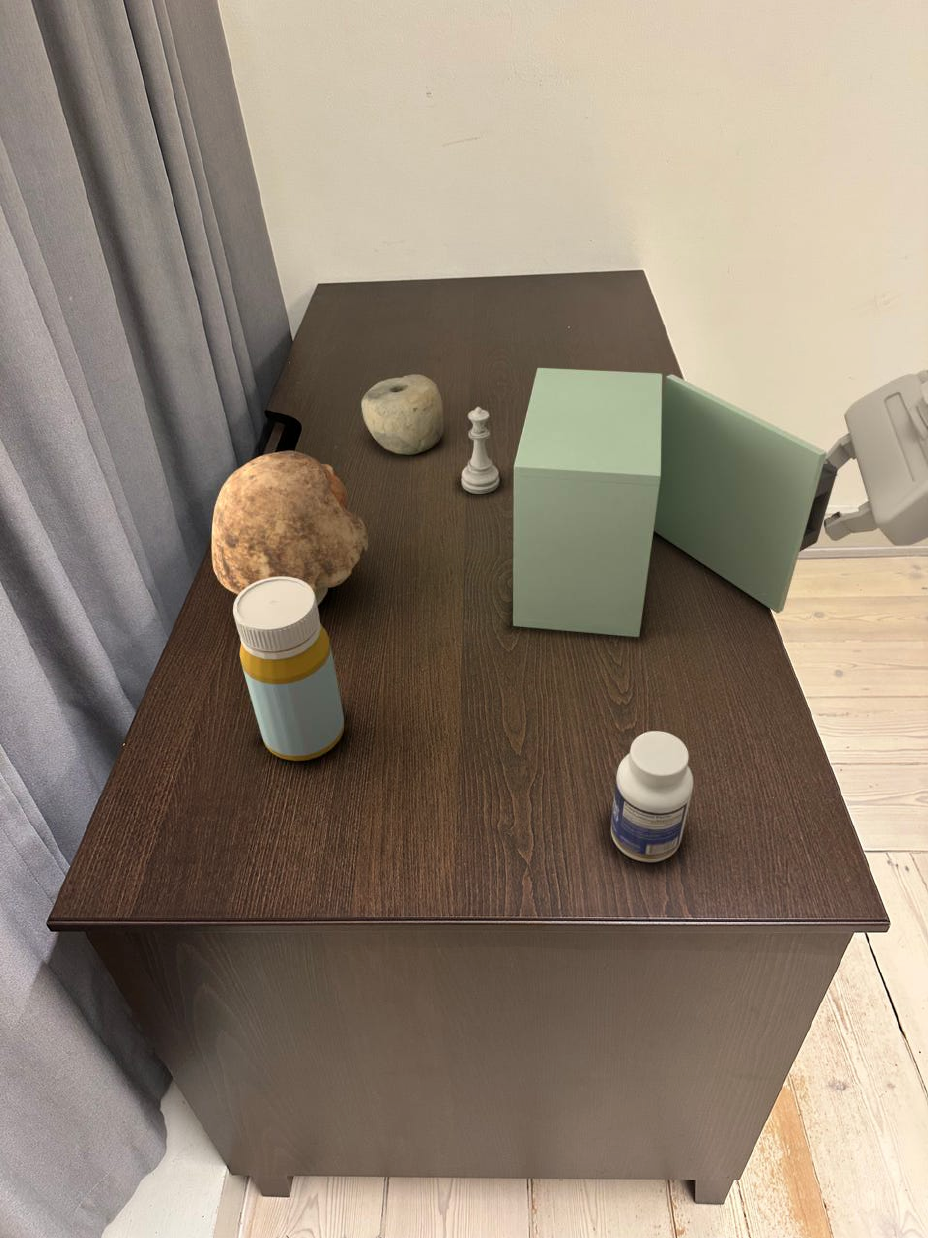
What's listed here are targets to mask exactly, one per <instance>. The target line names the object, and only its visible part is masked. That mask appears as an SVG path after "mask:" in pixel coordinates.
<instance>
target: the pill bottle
mask: <svg viewBox="0 0 928 1238" xmlns="http://www.w3.org/2000/svg"><path fill="white" fill-rule="evenodd" d="M689 756H690V755H689V750H688V748H687V746H686V745H685V743H684V742H683V741H682V740H681V739H680V738H679V737H677V736H675V735H673V734H671V733H669V732H665V731H660V730H659V731H657V730H652V731H647V732H644V733H642V734H640V735H638V736H637V737H636V738H635V739H634V740H633V741H632V743H631V746H630V751H629V753H627V754H626V756H625V757H623V758H622V760H621V761H620V763H619V765H618V767H617V772H616V777H615V785H614V793H613V801H612V810H611V817H610V818H611V819H610V835H611V838H612V840H613V843H614V844H615V845H616V847H617V849H619V850H620V851H621V852H622V853H623V854H624V855H626V857H628V858H631V859H633V860H635V861H639V862H643V863H656V862H661V861H664V860H666V859H668V858H670V857H672V855H674V854H675V853H676V852H677V850H678V848H679V847H680V844H681V842H682V838H683V834H684V830H685V825H686V820H687V816H688V812H689V808H690V803H691V800H692V794H693V790H694V789H693V788H694V776H693V773H692V771H691V768H690V766H689V759H690V757H689Z"/></svg>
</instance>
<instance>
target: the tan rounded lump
mask: <svg viewBox="0 0 928 1238" xmlns="http://www.w3.org/2000/svg"><path fill="white" fill-rule="evenodd" d="M347 502H348V491H347V488H346V486H345V485H344V483H343V482H342V481H341V480H340V479H339V477H338V476H337V475H336V474H335V472H334V468H333V467H332V466H331V465H329V464H327V463H320V461H319V460H317V459H316V458H314V457H312V456H310V455H308V454H305V453H302V452H299V451H296V450H284V451H283V450H282V451H278V452H272V453H266V454H263V455H260V456H258V457H256V458H254V459H252V460H250V461H249V462H247V463H245V464H244V465H242V466H240V467H239V468H237V469H235V471H233V473H232V474H230V476H229V477H228V478H227V479H226V481H225V482H224V484H223V486H222V487H221V489H220V491H219V494H218V496H217V498H216V501H215V504H214V510H213V516H212V527H211V560H212V567H213V572H214V573H215V576H216V578H217V580H218V581H219V582H220V584H221V585H222V586H223V587H224V588H225V589H227V590H228V591H230V592H231V593H233V594H236V595H237V596H238V595H239V594H240V592H241V591H243V590H244V589H245V588H246V587H248V586H249V585H251V584H253V583H255V582H257V581H260V580H263V579H266V578H271V577H292V578H296V579H299V580H302V581H304V582H305V583H307V584H308V585H309V586H310V587H311V588H312V590H313V592H314V593H315V596H316V602H317V607H318V606H319V605H320V604H321V602H322V601H323V599H324V598H325V596H326V595H327V593H328V590H329V589H330V588H335V587H337V586H339V585H341V584H343V582H345V580H347V579H348V578H349V577H350V575H351V574H352V569H353V568H355V566H356V564H358V563H359V560H360V558H361V554H362V552H367V550H368V548H369V543H368V540H369V539H368V534H367V531H366V527H365V524H364V521H363V520H362V519H361V518H360V516H359V515H358V514H357V513H355V512H353V511H350V510H347V509H346V506H347ZM328 588H329V589H328Z"/></svg>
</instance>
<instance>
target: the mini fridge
mask: <svg viewBox="0 0 928 1238" xmlns="http://www.w3.org/2000/svg"><path fill="white" fill-rule="evenodd" d="M662 406H663V373H659V372H658V373H656V372H633V371H613V370H594V369H592V370H591V369H573V368H551V367H548V368H547V367H537V369H536V372H535V377H534V380H533V386H532V389H531V394H530V399H529V401H528V407H527V411H526V415H525V418H524V423H523V428H522V431H521V435H520V440H519V444H518V448H517V454H516V456H515V459H514V465H513V570H512V571H513V583H512V588H513V589H512V591H513V593H512V594H513V596H512V597H513V599H512V600H513V601H512V604H513V605H512V609H513V610H512V612H513V613H512V624H513V625H512V626H514V627H522V628H533V629H541V630H542V629H544V630H555V631H566V632H577V633H586V634H587V633H588V634H598V635H599V634H600V635H610V636H620V637H631V638H632V637H633V638H639V637H640V634H641V626H642V618H643V611H644V605H645V604H644V603H645V596H646V590H647V582H648V575H649V567H650V560H651V559H650V558H651V552H652V543H653V536H654V531H653V530H654V523H655V515H656V508H657V501H658V493H659V485H660V478H661V426H662Z"/></svg>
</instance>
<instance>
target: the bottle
mask: <svg viewBox="0 0 928 1238" xmlns="http://www.w3.org/2000/svg"><path fill="white" fill-rule="evenodd" d="M232 608H233V609H232V614H233V618H234V622H235V626H236V629H237V632H238V635H239V640H240V642H241V643H240V647H239V657H240V664H241V668H242V671H243V674H244V678H245V682H246V684H247V688H248V691H249V695H250V700H251V702H252V706H253V710H254V713H255V717H256V720H257V724H258V728H259V731H260V734H261V738H262V740H263V743H264V745H265V747H266V748H267V750H268V751H269V752H270V753H271V754H273V755H274V756H276V757H278V758H280V759H283V760H288V761H293V762H301V761H310V760H313V759H316V758H319V757H321V756H322V755H325V754H327V752H329V751H331V750H332V749H333V748H334V747H335V746H336V745H337V744H338V743H339V741H340V740H341V738H342V736H343V733H344V732H345V731H344V730H345V716H344V712H343V706H342V700H341V694H340V689H339V685H338V678H337V673H336V669H335V662H334V657H333V652H332V651H333V650H332V647H331V642H330V637H329V635H328V633H327V631H326V630H325V628H324V627H323V625H322V623H321V622H320V621H321V620H320V612H319V607H318V606H317V602H316V596H315V593H314V592H313V590H312V588H311V587H310V586H309V585H308V584H307V583H305V582H304V581H302V580H299V579H296V578H292V577H271V578H266V579H263V580H260V581H257V582H255V583H253V584H251V585H249V586H248V587H246V588H245V589H244V590H243V591H241V592H240V594H239V595H238V594H237V596H236V598H235V600H234V602H233V607H232Z"/></svg>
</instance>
